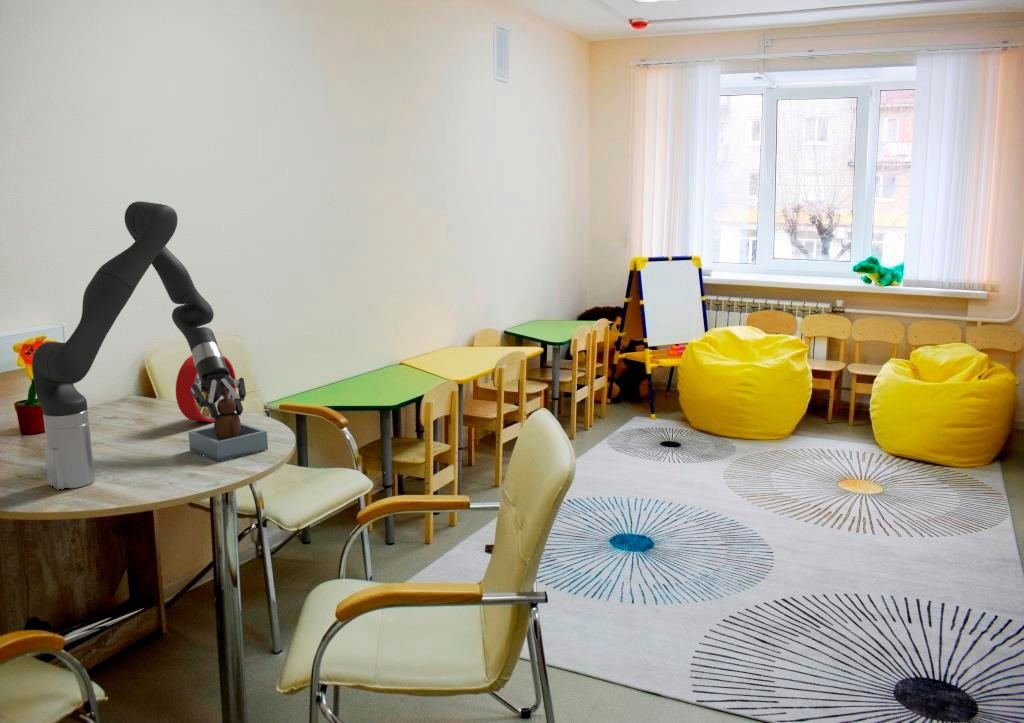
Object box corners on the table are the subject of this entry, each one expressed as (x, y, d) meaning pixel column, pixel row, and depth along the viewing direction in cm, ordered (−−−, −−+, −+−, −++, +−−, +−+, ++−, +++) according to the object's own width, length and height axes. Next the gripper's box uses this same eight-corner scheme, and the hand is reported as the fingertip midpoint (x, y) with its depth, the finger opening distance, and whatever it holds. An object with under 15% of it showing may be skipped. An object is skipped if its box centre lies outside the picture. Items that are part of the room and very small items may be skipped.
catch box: (218, 461, 223) (217, 442, 222) (190, 450, 233) (188, 432, 232) (268, 449, 233) (266, 431, 232) (238, 439, 243) (237, 421, 242)
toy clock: (195, 429, 253) (189, 360, 250) (178, 428, 255) (172, 359, 251) (238, 412, 272) (233, 348, 268) (222, 411, 274) (217, 347, 270)
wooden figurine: (231, 445, 229) (229, 388, 226) (211, 443, 230) (208, 387, 227) (244, 438, 235) (242, 383, 232) (224, 437, 236) (222, 381, 233)
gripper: (184, 358, 230) (202, 412, 223) (239, 351, 238) (258, 403, 231) (180, 374, 235) (197, 428, 228) (233, 367, 243) (252, 419, 236)
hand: (228, 415), depth 230 cm, fingers closed on wooden figurine, 5 cm apart
